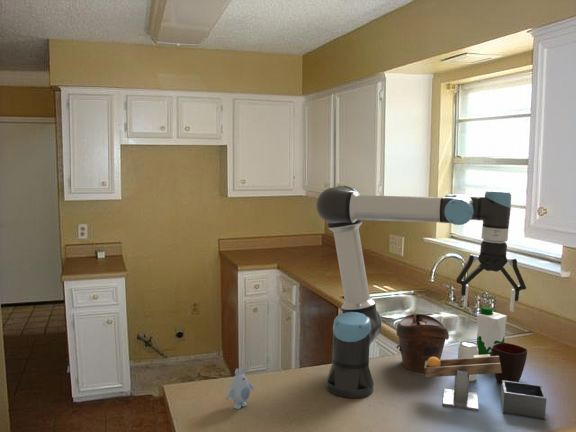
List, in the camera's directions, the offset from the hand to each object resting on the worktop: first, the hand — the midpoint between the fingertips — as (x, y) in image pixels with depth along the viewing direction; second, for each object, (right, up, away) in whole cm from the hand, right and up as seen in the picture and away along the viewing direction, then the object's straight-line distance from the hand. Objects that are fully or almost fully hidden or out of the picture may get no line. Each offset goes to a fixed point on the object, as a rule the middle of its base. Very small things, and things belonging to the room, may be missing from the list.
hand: (488, 308), depth 169 cm
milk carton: (+11, -25, +30) cm, 41 cm away
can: (-2, -27, +15) cm, 31 cm away
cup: (+12, -27, +13) cm, 33 cm away
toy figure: (-77, -28, -9) cm, 82 cm away
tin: (+7, -29, -7) cm, 31 cm away
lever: (-8, -18, 0) cm, 20 cm away
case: (-15, -25, +26) cm, 39 cm away
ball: (-17, -19, -1) cm, 25 cm away
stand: (-9, -28, -2) cm, 30 cm away
